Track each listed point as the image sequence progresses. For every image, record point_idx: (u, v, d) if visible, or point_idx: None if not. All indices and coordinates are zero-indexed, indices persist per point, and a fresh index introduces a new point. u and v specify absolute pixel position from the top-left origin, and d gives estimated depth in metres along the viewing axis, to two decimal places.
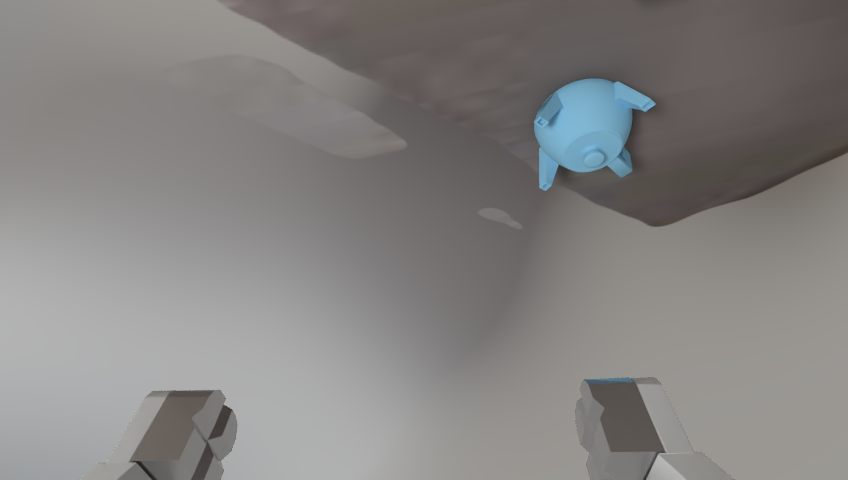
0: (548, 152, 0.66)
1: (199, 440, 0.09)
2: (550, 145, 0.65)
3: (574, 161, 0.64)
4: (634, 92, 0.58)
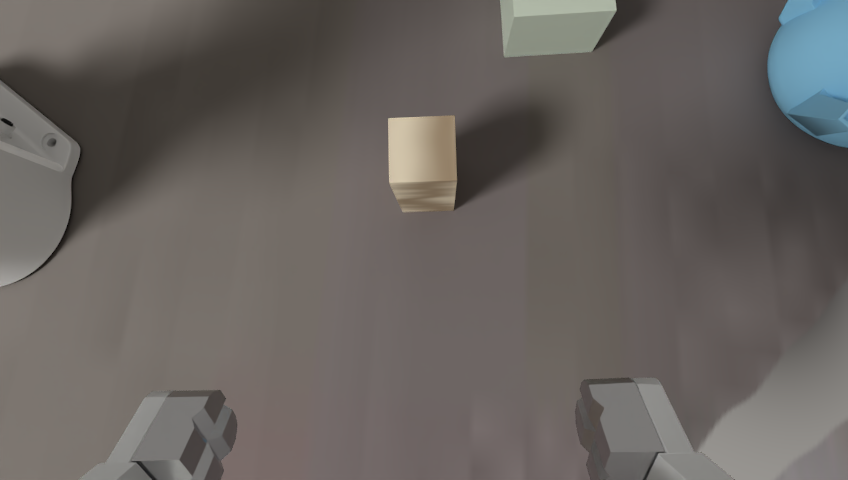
0: None
1: (199, 440, 0.09)
2: None
3: None
4: None
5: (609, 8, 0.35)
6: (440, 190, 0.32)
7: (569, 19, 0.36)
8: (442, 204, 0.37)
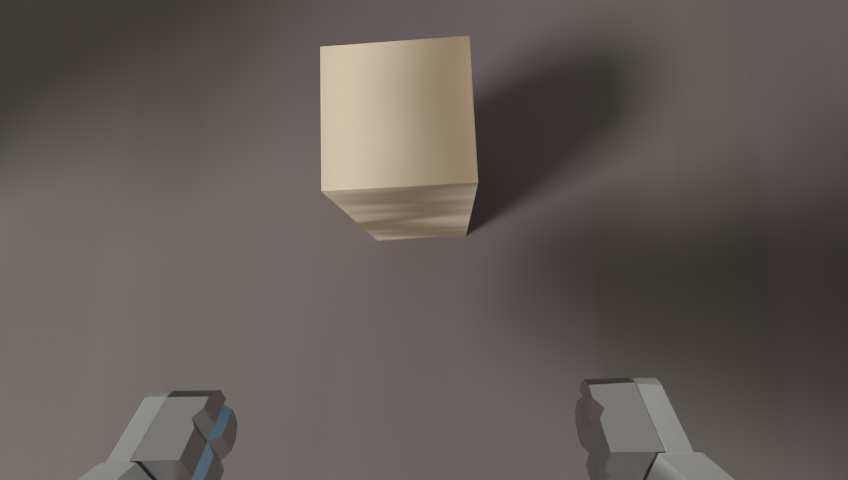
0: None
1: (199, 440, 0.09)
2: None
3: None
4: None
5: None
6: (440, 204, 0.15)
7: None
8: (446, 228, 0.20)
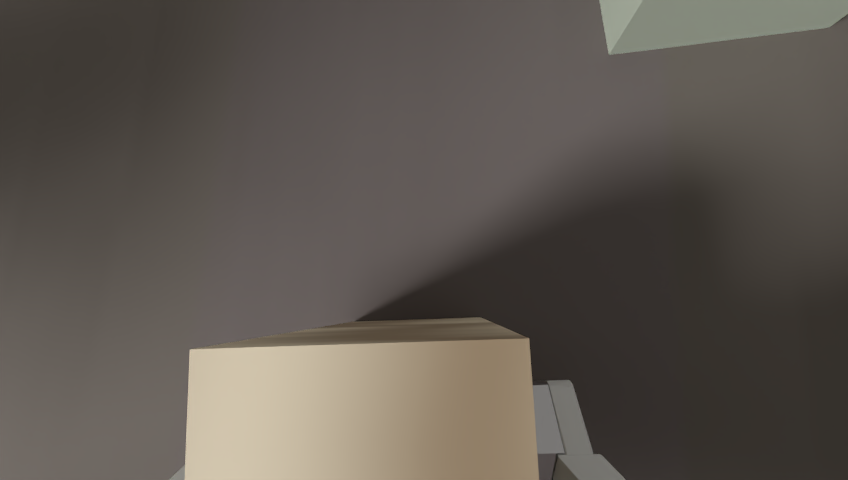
0: None
1: None
2: None
3: None
4: None
5: None
6: None
7: None
8: None
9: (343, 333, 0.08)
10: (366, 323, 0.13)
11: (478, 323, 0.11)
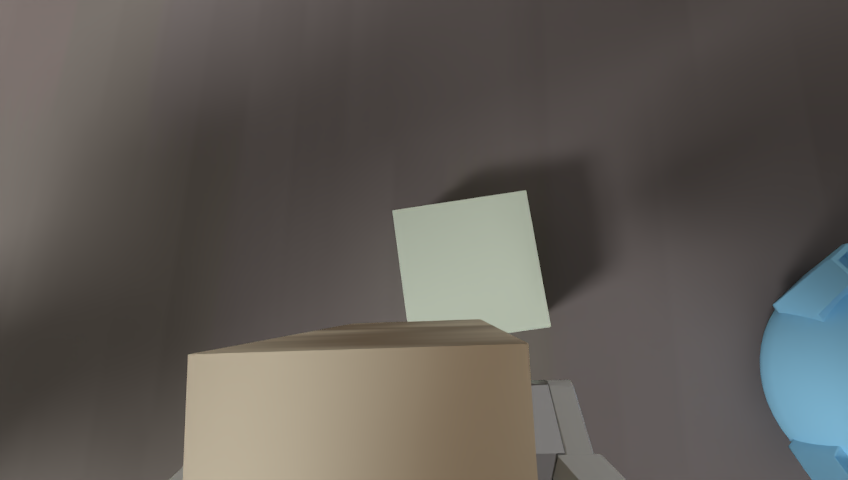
0: None
1: None
2: None
3: None
4: (805, 284, 0.25)
5: (541, 323, 0.25)
6: None
7: None
8: None
9: (342, 336, 0.08)
10: (365, 325, 0.13)
11: (477, 326, 0.11)
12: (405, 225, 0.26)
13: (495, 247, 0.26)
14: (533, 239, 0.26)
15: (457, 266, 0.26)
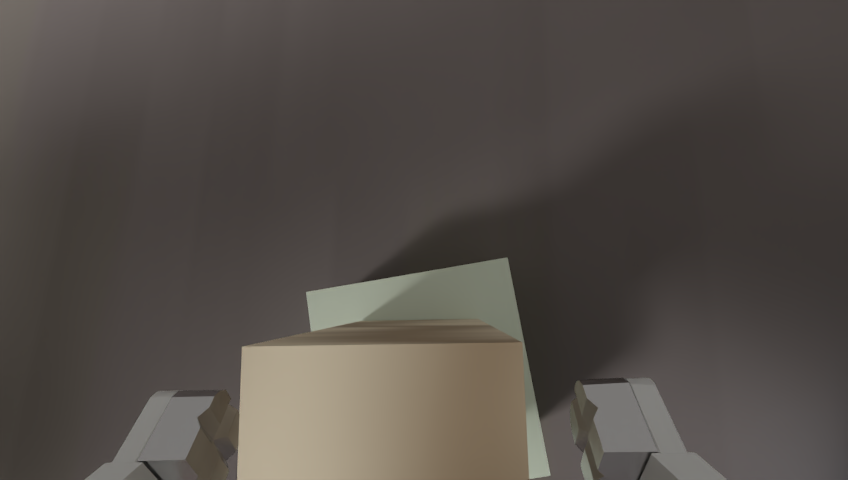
0: None
1: (205, 440, 0.09)
2: None
3: None
4: None
5: (534, 470, 0.16)
6: None
7: None
8: None
9: (361, 333, 0.10)
10: (374, 323, 0.15)
11: (477, 325, 0.12)
12: (325, 315, 0.17)
13: None
14: (520, 334, 0.17)
15: None
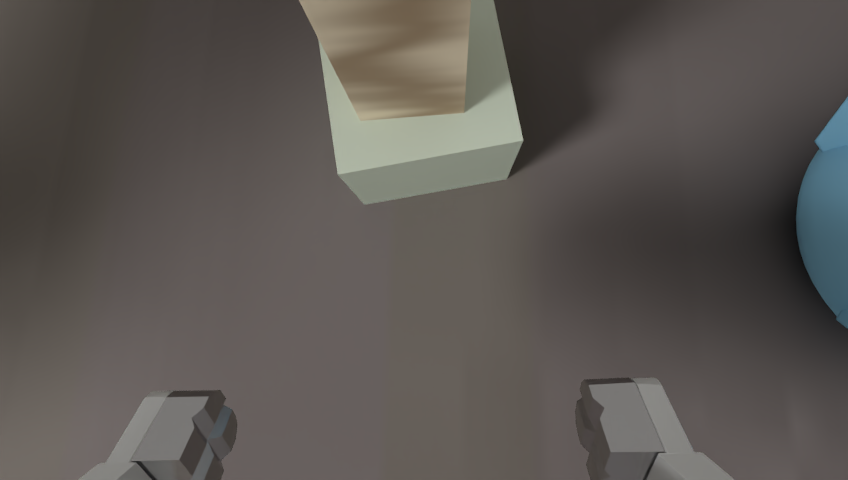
0: None
1: (199, 440, 0.09)
2: None
3: None
4: None
5: (510, 137, 0.19)
6: None
7: (442, 161, 0.20)
8: (439, 85, 0.16)
9: None
10: None
11: None
12: None
13: None
14: (498, 32, 0.19)
15: None
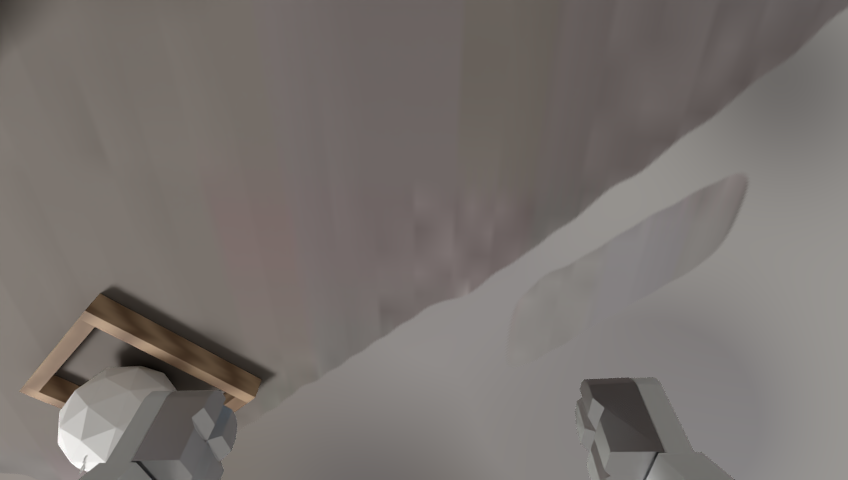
0: None
1: (199, 440, 0.09)
2: None
3: None
4: None
5: None
6: None
7: None
8: None
9: None
10: None
11: None
12: None
13: None
14: None
15: None
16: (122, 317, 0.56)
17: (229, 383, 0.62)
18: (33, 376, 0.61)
